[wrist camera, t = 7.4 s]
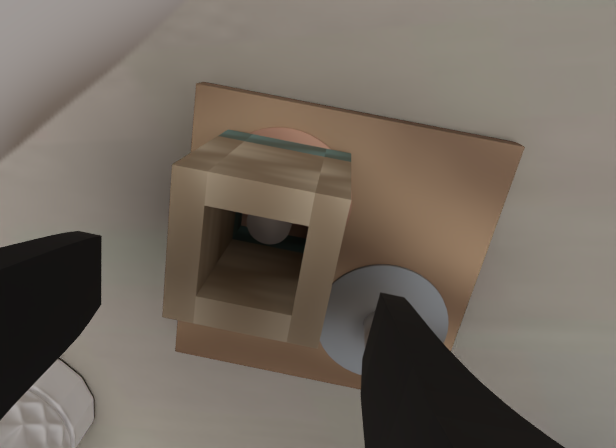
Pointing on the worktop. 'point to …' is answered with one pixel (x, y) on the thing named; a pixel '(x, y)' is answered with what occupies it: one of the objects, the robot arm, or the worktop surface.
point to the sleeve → (243, 247)
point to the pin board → (368, 224)
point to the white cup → (50, 412)
